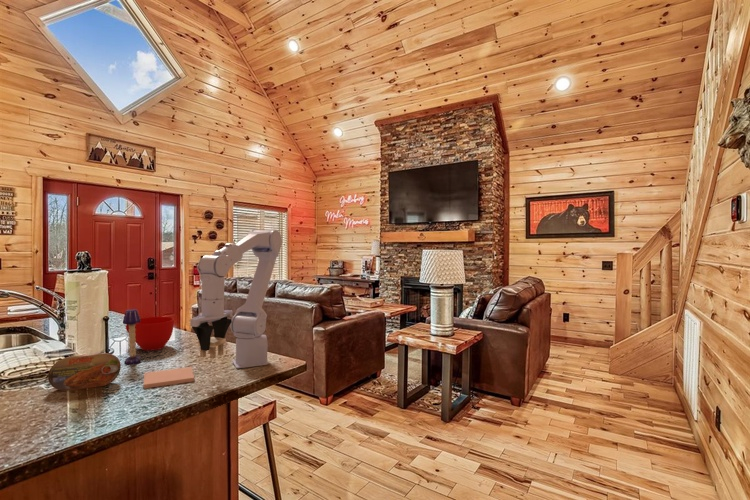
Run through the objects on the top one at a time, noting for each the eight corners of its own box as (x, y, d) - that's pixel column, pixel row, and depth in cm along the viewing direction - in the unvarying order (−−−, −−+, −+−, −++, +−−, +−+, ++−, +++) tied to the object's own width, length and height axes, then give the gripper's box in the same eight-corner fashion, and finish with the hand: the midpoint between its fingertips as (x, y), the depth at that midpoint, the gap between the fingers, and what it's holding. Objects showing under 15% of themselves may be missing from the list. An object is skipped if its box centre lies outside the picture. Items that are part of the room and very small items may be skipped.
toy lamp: (131, 365, 115) (132, 311, 115) (118, 364, 116) (119, 310, 115) (143, 361, 120) (144, 308, 119) (131, 359, 120) (132, 308, 120)
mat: (191, 370, 113) (191, 366, 113) (194, 381, 104) (194, 377, 104) (144, 376, 107) (144, 372, 107) (143, 388, 98) (143, 384, 98)
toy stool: (210, 352, 107) (211, 336, 107) (225, 354, 106) (225, 338, 106) (197, 357, 103) (198, 340, 103) (213, 359, 101) (213, 342, 101)
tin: (47, 393, 94) (47, 359, 93) (51, 388, 96) (51, 356, 96) (119, 384, 101) (120, 353, 100) (121, 380, 103) (121, 350, 103)
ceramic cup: (140, 341, 142) (140, 315, 142) (181, 344, 140) (181, 317, 139) (111, 351, 129) (112, 322, 129) (156, 354, 127) (156, 324, 127)
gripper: (218, 294, 112) (217, 339, 112) (181, 301, 98) (180, 352, 98) (239, 295, 110) (238, 342, 110) (203, 303, 96) (202, 355, 96)
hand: (212, 347), depth 104 cm, fingers closed on toy stool, 5 cm apart
